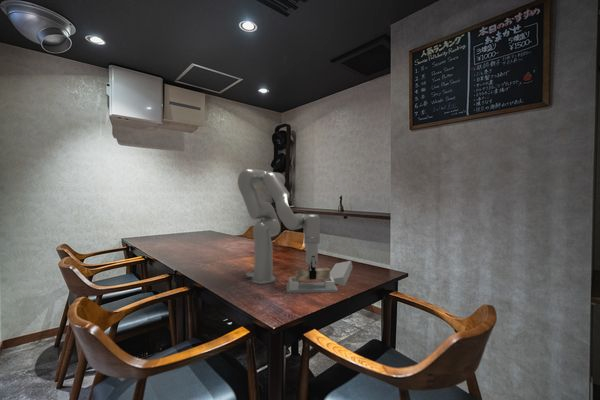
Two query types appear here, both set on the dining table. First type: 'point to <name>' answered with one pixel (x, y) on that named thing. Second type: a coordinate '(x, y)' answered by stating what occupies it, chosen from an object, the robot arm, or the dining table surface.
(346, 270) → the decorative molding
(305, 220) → the robot arm
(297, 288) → the cradle
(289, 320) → the dining table surface
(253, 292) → the dining table surface
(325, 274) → the slat
